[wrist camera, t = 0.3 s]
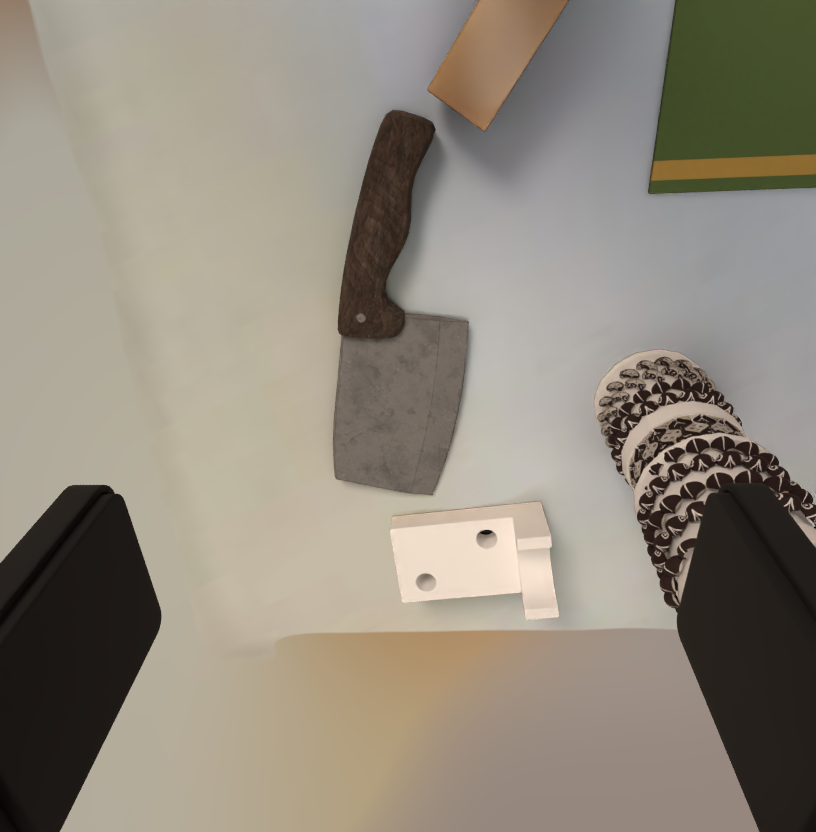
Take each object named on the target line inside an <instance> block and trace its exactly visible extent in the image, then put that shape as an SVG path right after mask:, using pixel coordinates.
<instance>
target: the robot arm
mask: <svg viewBox="0 0 816 832" xmlns="http://www.w3.org/2000/svg"><path fill="white" fill-rule="evenodd" d="M160 624H161V610H160V606H159V603H158V600H157V597H156V594H155V591H154V588H153V585H152V582H151V579H150V576H149V573H148V570H147V567H146V564H145V561H144V558H143V555H142V552H141V549H140V546H139V543H138V540H137V537H136V534H135V531H134V528H133V525H132V522H131V519H130V516H129V513H128V510H127V507H126V504H125V501H124V499H123V497H122V496H121V495H119V494H115V493H114V491H113V490H112V489H111V488H110V486H107V485H72V486H69V487H67V488H66V489H65V490H64V491H63V492H62V493H61V494H60V495H59V497H58V498H57V499H56V500H55V501H54V502H53V504H52V505H51V506H50V507H49V508H48V509H47V511H46V512H45V513H44V514H43V515H42V516H41V517H40V518H39V520H38V521H37V522H36V523H35V524H34V525H33V526H32V528H31V529H30V530H29V531H28V532H27V533H26V535H25V536H24V537H23V538H22V539H21V540H20V541H19V543H18V544H17V545H16V546H15V547H14V548H13V549H12V551H11V552H10V553H9V554H8V555H7V556H6V557H5V559H4V560H3V561H2V562H1V563H0V832H60V830H61V828H62V826H63V824H64V822H65V820H66V818H67V816H68V814H69V812H70V810H71V808H72V806H73V804H74V802H75V800H76V798H77V796H78V794H79V792H80V790H81V788H82V786H83V784H84V782H85V779H86V778H87V776H88V773H89V772H90V769H91V767H92V765H93V763H94V761H95V759H96V757H97V755H98V753H99V751H100V749H101V747H102V745H103V743H104V741H105V739H106V737H107V735H108V733H109V731H110V729H111V727H112V725H113V723H114V721H115V719H116V717H117V715H118V712H119V711H120V709H121V707H122V705H123V703H124V701H125V698H126V696H127V694H128V692H129V690H130V688H131V686H132V684H133V682H134V680H135V678H136V676H137V674H138V672H139V670H140V668H141V666H142V664H143V662H144V660H145V658H146V656H147V654H148V652H149V650H150V648H151V646H152V644H153V642H154V640H155V638H156V635H157V633H158V631H159V628H160ZM677 628H678V633H679V637H680V639H681V642H682V644H683V647H684V649H685V652H686V654H687V656H688V659H689V661H690V664H691V666H692V669H693V671H694V673H695V676H696V679H697V681H698V683H699V686H700V688H701V691H702V693H703V695H704V698H705V700H706V703H707V705H708V708H709V710H710V712H711V715H712V717H713V720H714V722H715V725H716V727H717V729H718V732H719V734H720V737H721V739H722V742H723V744H724V747H725V749H726V751H727V754H728V756H729V759H730V761H731V764H732V766H733V768H734V770H735V773H736V776H737V778H738V781H739V783H740V785H741V788H742V790H743V793H744V795H745V798H746V800H747V802H748V804H749V807H750V810H751V812H752V815H753V817H754V819H755V822H756V824H757V827H758V829H759V831H760V832H816V547H815V546H814V545H813V543H812V542H811V541H810V540H809V538H808V537H807V536H806V534H805V533H804V532H803V530H802V529H801V528H800V526H799V525H798V524H797V523H796V521H795V520H794V519H793V517H792V516H791V515H790V513H789V512H788V511H787V509H786V508H785V507H784V506H783V504H782V503H781V502H780V500H779V499H778V498H777V496H776V495H775V494H774V492H773V491H772V490H771V489H770V488H769V487H768V486H767V485H766V484H763V483H725V484H722V486H721V487H720V488H719V490H718V493H710V494H709V495H708V497H707V499H706V503H705V507H704V511H703V515H702V519H701V523H700V526H699V530H698V534H697V538H696V542H695V546H694V550H693V554H692V558H691V562H690V566H689V570H688V574H687V578H686V582H685V586H684V590H683V594H682V598H681V601H680V605H679V609H678V614H677Z"/></svg>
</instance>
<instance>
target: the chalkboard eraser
mask: <svg viewBox="0 0 816 832" xmlns="http://www.w3.org/2000/svg"><path fill="white" fill-rule="evenodd" d="M568 1H569V0H478V2H477V4H476V5H475V7H474V9H473V10H472V12H471V14H470V16H469V17H468V19H467V21H466V23H465V24H464V26H463V28H462V30H461V31H460V33H459V35H458V37H457V38H456V40H455V42H454V43H453V45H452V47H451V49H450V50H449V52H448V54H447V56H446V57H445V59H444V61H443V63H442V64H441V66H440V68H439V70H438V71H437V73H436V75H435V76H434V78H433V80H432V82H431V83H430V85H429V87H428V91H429V92H430V93H431V94H433V95H434V96H436V97H437V98H438V99H440V100H441V101H442V102H444V103H445V104H447V105H448V106H449V107H451V108H452V109H454V110H455V111H456V112H458V113H459V114H460V115H462V116H463V117H465V118H466V119H467V120H469V121H470V122H471V123H473V124H474V125H476V126H477V127H478V128H480V129H481V130H482V131H484V132H485V131H486V129H487V128H488V126H489V125H490V123H491V121H492V120H493V118H494V117H495V115H496V114H497V112H498V111H499V109H500V107H501V106H502V104H503V103H504V101H505V100H506V98H507V97H508V95H509V93H510V92H511V90H512V89H513V87H514V86H515V84H516V82H517V81H518V79H519V78H520V76H521V75H522V73H523V72H524V70H525V68H526V67H527V65H528V64H529V62H530V61H531V59H532V58H533V56H534V54H535V53H536V51H537V50H538V48H539V47H540V45H541V43H542V42H543V40H544V39H545V37H546V36H547V34H548V33H549V31H550V29H551V28H552V26H553V25H554V23H555V22H556V20H557V18H558V17H559V15H560V14H561V12H562V11H563V9H564V8H565V6H566V4H567V3H568Z"/></svg>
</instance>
